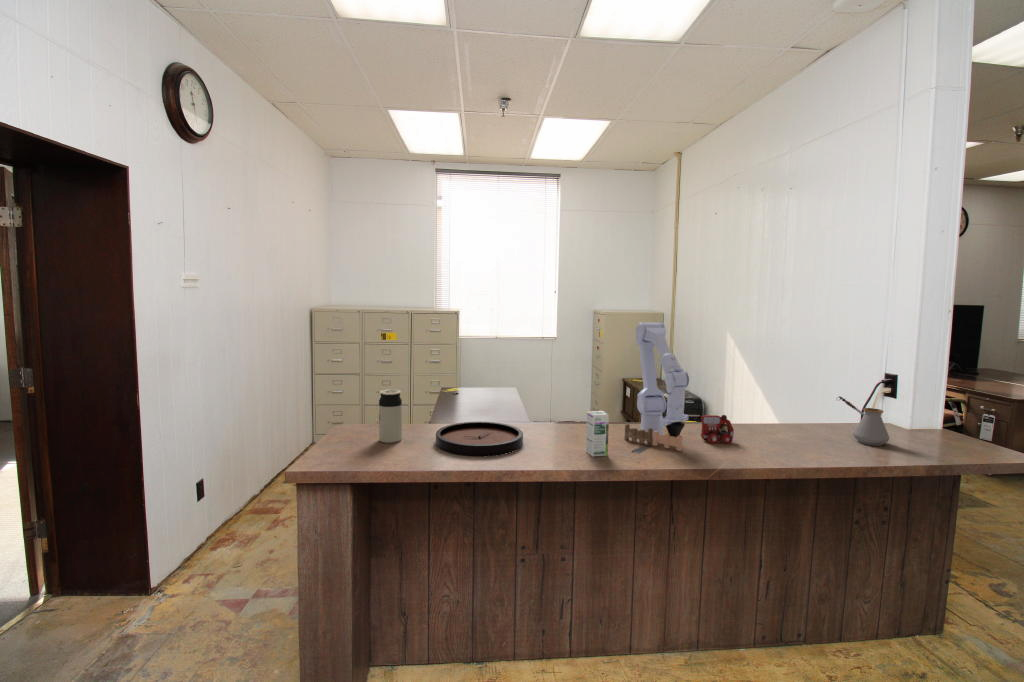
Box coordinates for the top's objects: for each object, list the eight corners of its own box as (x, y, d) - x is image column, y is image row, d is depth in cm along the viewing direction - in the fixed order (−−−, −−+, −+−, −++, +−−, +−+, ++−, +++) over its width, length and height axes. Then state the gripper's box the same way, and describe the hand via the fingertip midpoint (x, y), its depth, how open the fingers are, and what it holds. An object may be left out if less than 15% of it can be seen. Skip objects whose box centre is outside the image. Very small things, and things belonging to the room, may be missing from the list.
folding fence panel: (652, 445, 183) (653, 431, 183) (654, 444, 184) (654, 430, 184) (680, 451, 177) (681, 436, 176) (681, 450, 178) (682, 436, 178)
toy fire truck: (737, 445, 188) (739, 417, 187) (704, 445, 188) (706, 417, 186) (728, 439, 195) (729, 413, 194) (696, 439, 194) (698, 412, 193)
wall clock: (462, 451, 163) (421, 428, 188) (462, 463, 163) (421, 439, 189) (540, 437, 180) (493, 417, 206) (540, 448, 181) (493, 427, 206)
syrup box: (592, 457, 171) (593, 414, 170) (585, 451, 177) (586, 410, 175) (607, 456, 172) (609, 413, 171) (600, 450, 178) (601, 409, 177)
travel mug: (404, 437, 189) (404, 389, 187) (397, 443, 181) (397, 394, 179) (383, 436, 190) (383, 388, 188) (375, 442, 182) (375, 393, 180)
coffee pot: (896, 446, 191) (900, 407, 189) (872, 448, 188) (875, 408, 186) (846, 430, 211) (849, 395, 210) (823, 432, 208) (826, 396, 207)
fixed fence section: (625, 439, 191) (626, 423, 191) (652, 444, 185) (653, 428, 184) (623, 440, 190) (624, 424, 190) (650, 445, 184) (651, 429, 183)
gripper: (674, 410, 172) (672, 449, 173) (696, 404, 181) (694, 441, 183) (656, 406, 177) (654, 444, 179) (679, 401, 187) (677, 437, 188)
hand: (673, 442), depth 181 cm, fingers closed
